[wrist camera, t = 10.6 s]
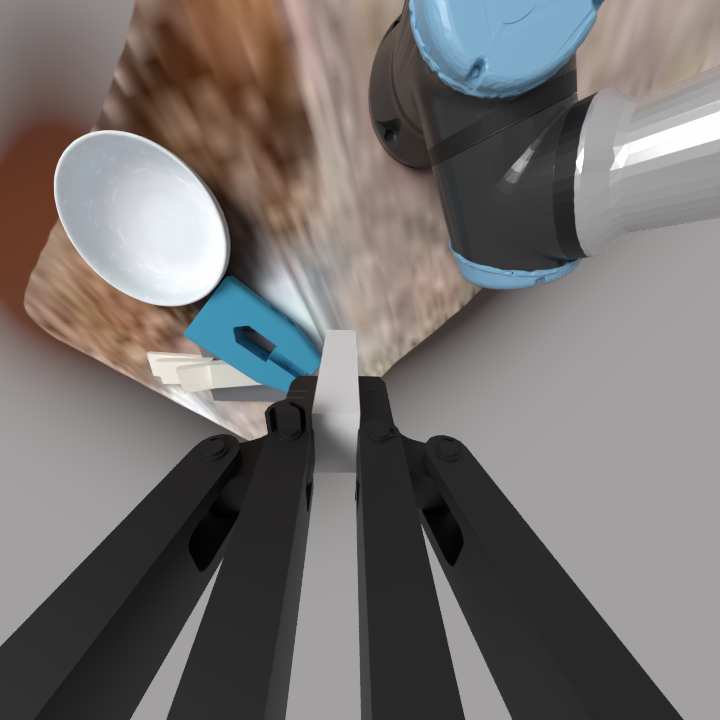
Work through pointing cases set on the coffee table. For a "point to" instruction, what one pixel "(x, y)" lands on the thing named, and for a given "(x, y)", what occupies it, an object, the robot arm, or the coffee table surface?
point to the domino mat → (254, 390)
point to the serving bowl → (141, 218)
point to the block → (226, 341)
